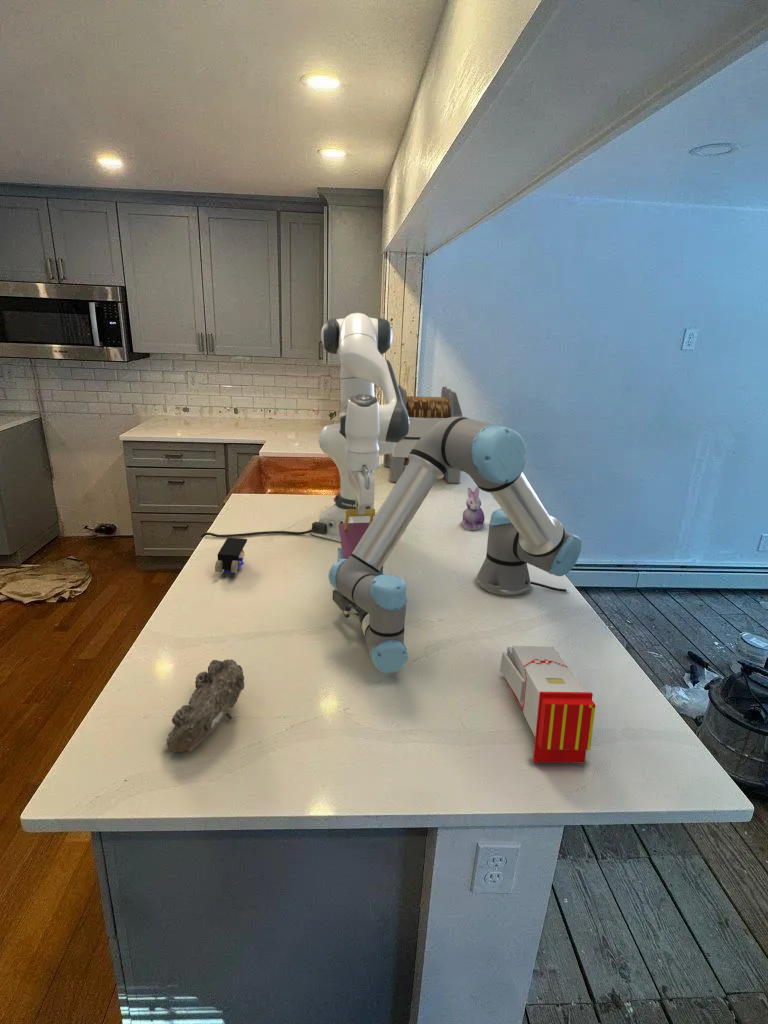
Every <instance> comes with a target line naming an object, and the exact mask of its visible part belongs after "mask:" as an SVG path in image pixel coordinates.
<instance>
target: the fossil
mask: <svg viewBox="0 0 768 1024" xmlns="http://www.w3.org/2000/svg"><path fill="white" fill-rule="evenodd" d="M243 670H244V669H243V667H242V665H240V664H237V662H236V661H235V660H234V659H232V658H231V659H227V658H226V659H224V660H223V661H222V660H217V659H212V660H211V661H210V663H209V665H208V666H207V671H201V672H199V673H198V674H197V675H196V676H195V680H194V684H195V685H194V687H195V689H194V690H193V693H192V694H191V697H190V698H189V700H188V704H184V705H182V706H181V707H180V709H177V710H176V711H175V713H174V715H173V716H172V718H171V723H172V724H173V727H172V730H171V731H170V732H168V734H167V738H166V741H167V742H166V745H167V749H168V750H169V751H173V752H174V753H176V754H178V753H182V752H188V751H189V752H192V751H193V750H195V748H196V747H197V746H199V744H200V743H201V742H203V741H204V740H205V739H206V738H207V737H208V736H209V735H210V734H211V733H212V732H214V730H215V729H217V727H218V726H219V724H220V722H221V721H222V720H223V719H224V718H225V716H226V717H227V719H229V720H233V717H232V715H230V714H229V710H230V709H231V708H234V706H235V704H236V703H237V702H238V699H239V697H240V695H241V693H242V691H243V690H245V689H244V688H245V675H244V671H243Z"/></svg>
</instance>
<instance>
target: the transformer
mask: <svg viewBox="0 0 768 1024" xmlns="http://www.w3.org/2000/svg"><path fill="white" fill-rule="evenodd" d="M398 388H399V391H400V394H401V398H402V401H403V404H404V406H405V408H406V410H407V413H408V417H409V431H408V434H407V435H406V436H405V437H404V438H403V439H402V440H401V441H399V442H398V443H396V446H395V448H394V450H393V451H392V452H391V453H389V454H385V455H383V466H384V467H388V468H389V475H388V476H389V477H388V478H389V480H390V482H391V483H396V482H397V481H398V479H399V478H400V476H401V475H402V473H403V471H404V469H405V466H407V465H408V463H409V458H408V455H409V454H410V452H411V450H412V449H413V447H414V446H415V445H416V443H417V442H418V440H419V439H420V438H421V437H422V436H423V435H424V434H425V433H426V432H427V431H428V430H429V429H430V428H432V427H433V426H434V425H435V424H437V423H439V422H440V421H442V420H444V419H447V418H450V417H457V416H459V417H463V411H462V408H461V405H460V402H459V398H458V395H457V392H455V391H453V390H452V389H451V388H447V386H442V387H441V392H440V393H441V394H440V396H415V395H414V396H413V395H412V396H411V395H407V394H408V393H407V390H406V389H404V388H403V387H402V385H399V384H398ZM461 472H462V471H460V470H457V469H454V468H450V469H449V470H448V471H447V472H446V474H445V475H444V477H443V478H444V479H445V481H446V482H447V483H449V484H455V483H456V484H459V483H461Z"/></svg>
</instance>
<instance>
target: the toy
mask: <svg viewBox="0 0 768 1024" xmlns="http://www.w3.org/2000/svg"><path fill="white" fill-rule="evenodd" d="M506 650H507V651H502V652H501V659H500V666H499V671H500V673H501V675H502V677H503V679H504V681H505V683H506V684H507V687H508V688H509V690H510V692H511V693H512V696H513V697H514V699H515V700H516V703H517V704H518V706H519V708H520V709H521V711H522V712H523V716H524V717H525V719H526V722H527V723H528V726H529V728H530V730H531V731H532V734H533V736H534V744H533V745H534V746H533V757H532V762H533V763H568V764H569V763H575V764H576V763H577V764H578V763H579V764H582V763H583V764H585V762H586V754H587V751H591V747H592V746H591V745H592V738H593V729H594V722H595V713H596V707H597V706H596V703H595V702H594V700H593V696H594V695H593V692H590V691H589V692H587V691H586V690H585V688H584V687H583V686H582V684H581V683H580V681H579V680H578V679H577V677H576V676H575V675H574V673H573V672H572V671H571V669H570V668H569V667H568V665H567V664H566V662H565V661H564V659H563V658H562V656H561V655H560V653H559V651H557V649H556V648H555V647H554V646H545V645H544V646H543V645H542V646H540V645H535V646H534V645H512V646H507V649H506Z"/></svg>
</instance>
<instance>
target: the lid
mask: <svg viewBox="0 0 768 1024" xmlns="http://www.w3.org/2000/svg"><path fill="white" fill-rule="evenodd" d="M345 514H346V520H345V523H339V533H340V540H341V542H340V545H341V546H340V548H342V554H343V559H349V557H350V556H351V554H352V552H353V551H354V549H355V548H356V546H357V544H358V543H359V541H360V540H361V538H362V537H363V535H364V533H365V532H366V530H367V529H368V527H369V525H370V524H371V522H372V521H373V519H374V517H375V516H376V509H375V508H374V509H365V514H358V509H346V511H345ZM352 516H371V517H370V522H368V523H348V520H349V517H352ZM384 568H385V567H384V565H383V566H382V568H381V569H383V570H384Z"/></svg>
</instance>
